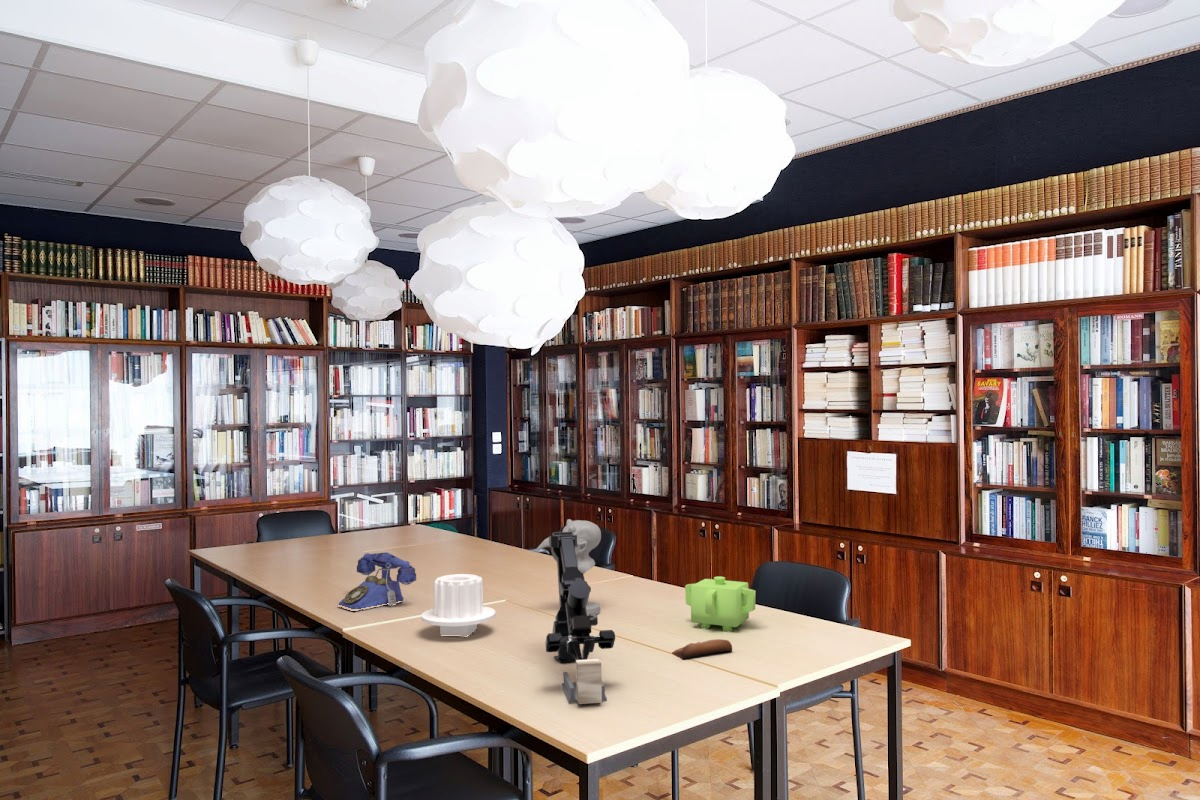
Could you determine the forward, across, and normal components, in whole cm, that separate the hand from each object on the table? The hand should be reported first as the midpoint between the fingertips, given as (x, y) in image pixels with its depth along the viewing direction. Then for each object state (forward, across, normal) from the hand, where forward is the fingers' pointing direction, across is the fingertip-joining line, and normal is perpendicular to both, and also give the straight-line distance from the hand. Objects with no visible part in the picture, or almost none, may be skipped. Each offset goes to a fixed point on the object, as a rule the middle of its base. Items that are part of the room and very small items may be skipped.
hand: (583, 669), depth 222 cm
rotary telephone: (-80, -67, +93) cm, 140 cm away
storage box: (-37, +58, +48) cm, 84 cm away
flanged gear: (-44, -32, +55) cm, 78 cm away
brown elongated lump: (-16, +42, +27) cm, 52 cm away
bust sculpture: (-57, +10, +69) cm, 90 cm away
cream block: (+9, 0, -2) cm, 9 cm away
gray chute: (+4, 0, +5) cm, 7 cm away
